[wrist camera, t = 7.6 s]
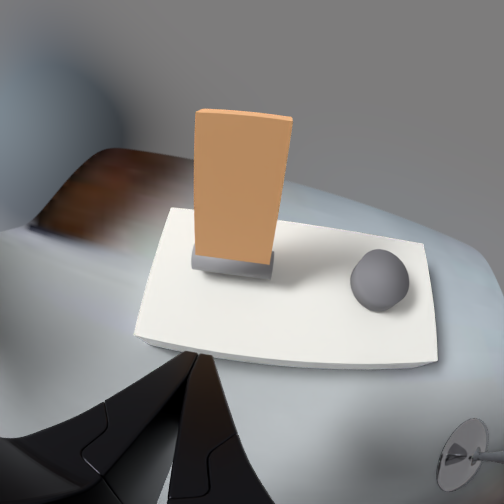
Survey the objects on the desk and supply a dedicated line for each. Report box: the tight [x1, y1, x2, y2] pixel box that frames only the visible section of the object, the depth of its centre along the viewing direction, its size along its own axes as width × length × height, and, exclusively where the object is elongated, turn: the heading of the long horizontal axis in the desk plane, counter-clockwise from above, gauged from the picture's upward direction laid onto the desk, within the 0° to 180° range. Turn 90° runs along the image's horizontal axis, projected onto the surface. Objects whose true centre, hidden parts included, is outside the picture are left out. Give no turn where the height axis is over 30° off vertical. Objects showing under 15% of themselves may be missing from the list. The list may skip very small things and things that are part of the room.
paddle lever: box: [191, 109, 293, 280], centre depth 13 cm, size 2×4×9 cm, turn 84°
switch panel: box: [134, 208, 438, 370], centre depth 17 cm, size 9×19×3 cm, turn 83°
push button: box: [350, 249, 409, 312], centre depth 15 cm, size 4×4×1 cm
